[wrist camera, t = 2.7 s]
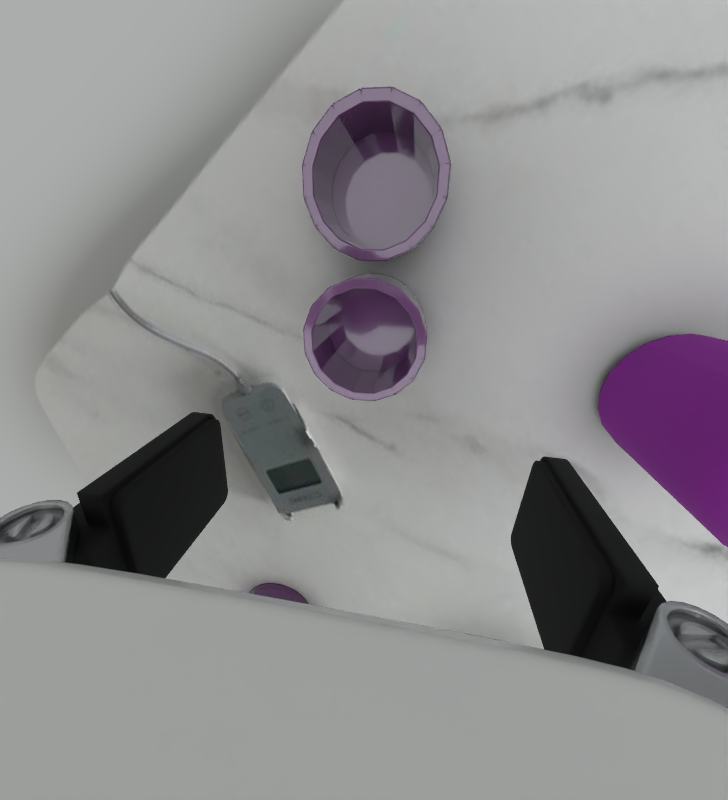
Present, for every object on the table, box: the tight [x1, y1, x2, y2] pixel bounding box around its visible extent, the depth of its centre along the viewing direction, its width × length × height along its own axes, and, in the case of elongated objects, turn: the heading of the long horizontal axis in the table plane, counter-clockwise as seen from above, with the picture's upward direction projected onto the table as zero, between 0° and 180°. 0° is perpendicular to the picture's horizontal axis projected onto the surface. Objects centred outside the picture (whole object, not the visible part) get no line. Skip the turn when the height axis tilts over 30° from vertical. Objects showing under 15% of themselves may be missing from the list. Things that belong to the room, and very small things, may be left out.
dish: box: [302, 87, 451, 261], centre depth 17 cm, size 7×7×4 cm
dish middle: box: [303, 274, 427, 401], centre depth 20 cm, size 7×7×4 cm
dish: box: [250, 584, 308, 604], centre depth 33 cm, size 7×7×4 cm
